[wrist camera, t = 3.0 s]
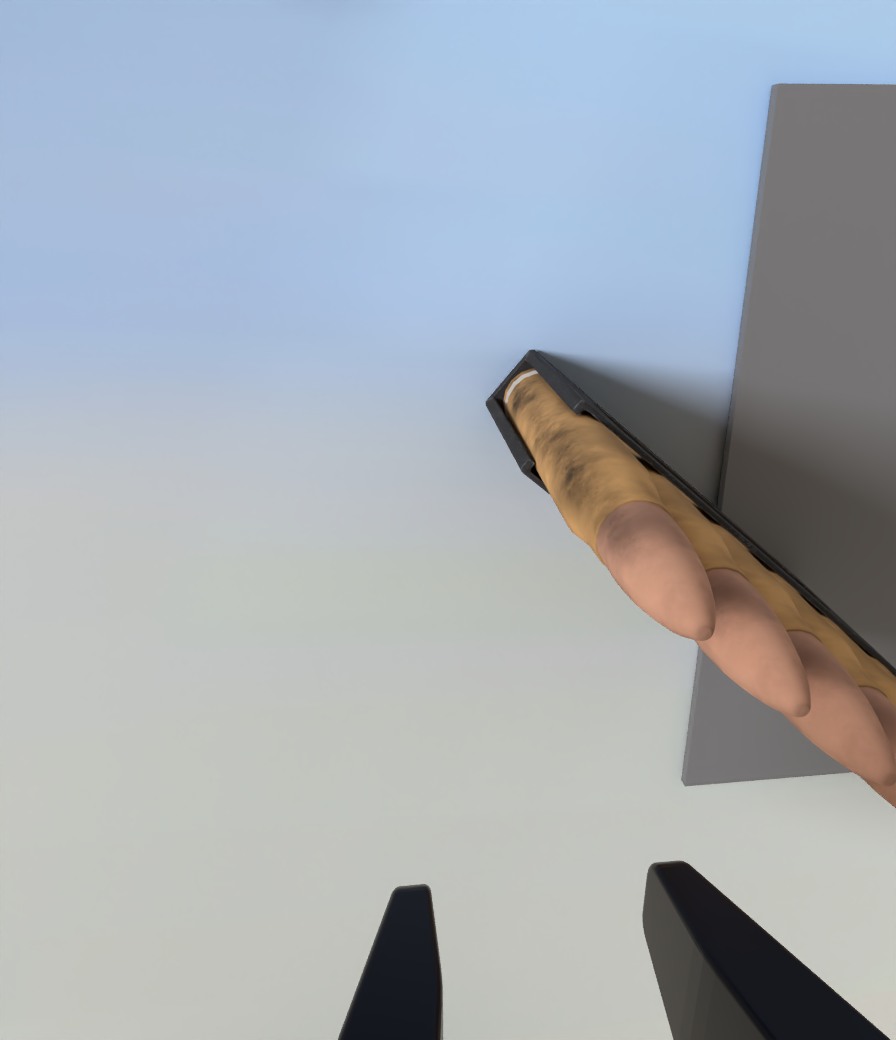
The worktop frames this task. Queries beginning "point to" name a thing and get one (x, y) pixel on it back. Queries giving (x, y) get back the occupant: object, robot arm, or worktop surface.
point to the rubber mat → (812, 403)
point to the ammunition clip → (701, 571)
